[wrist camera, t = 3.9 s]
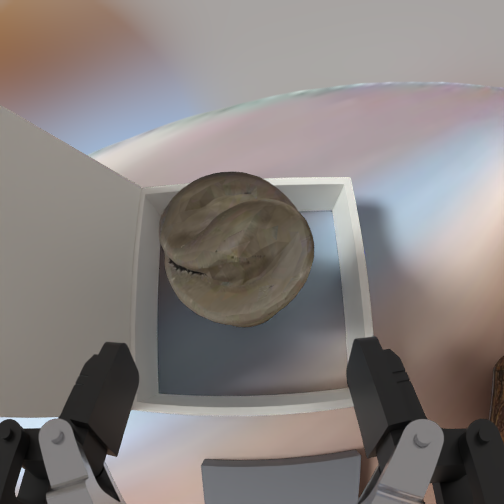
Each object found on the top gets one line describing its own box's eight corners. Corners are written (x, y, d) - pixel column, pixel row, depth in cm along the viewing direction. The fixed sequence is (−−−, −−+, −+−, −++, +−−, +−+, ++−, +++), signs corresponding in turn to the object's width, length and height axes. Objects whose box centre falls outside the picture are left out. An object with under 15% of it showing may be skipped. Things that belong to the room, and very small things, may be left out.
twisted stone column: (300, 304, 23) (360, 231, 9) (246, 351, 22) (219, 360, 8) (251, 252, 24) (237, 123, 10) (199, 297, 23) (111, 218, 9)
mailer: (81, 389, 21) (-113, 395, 3) (91, 219, 26) (-41, 87, 8) (355, 393, 20) (558, 462, 2) (337, 204, 25) (421, 4, 7)
